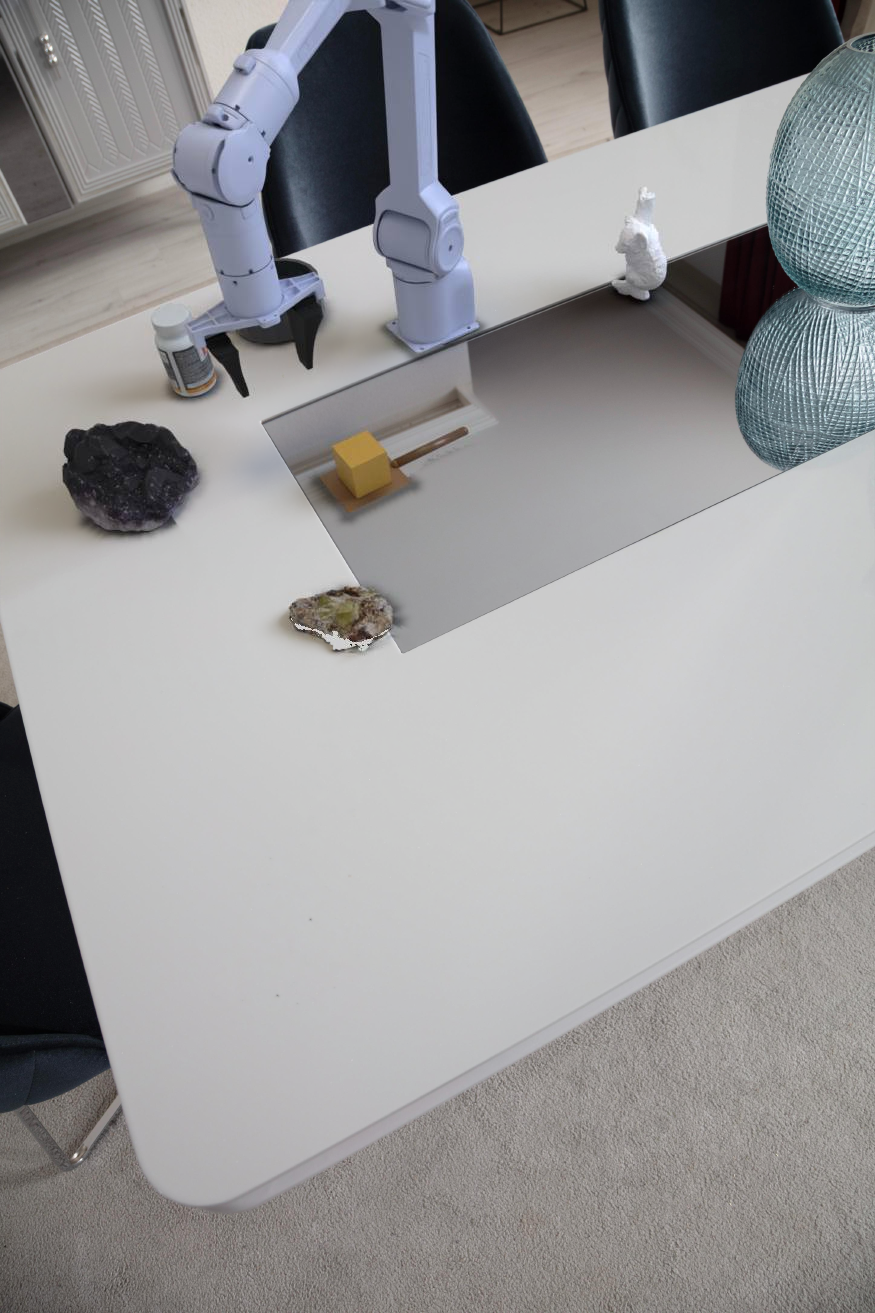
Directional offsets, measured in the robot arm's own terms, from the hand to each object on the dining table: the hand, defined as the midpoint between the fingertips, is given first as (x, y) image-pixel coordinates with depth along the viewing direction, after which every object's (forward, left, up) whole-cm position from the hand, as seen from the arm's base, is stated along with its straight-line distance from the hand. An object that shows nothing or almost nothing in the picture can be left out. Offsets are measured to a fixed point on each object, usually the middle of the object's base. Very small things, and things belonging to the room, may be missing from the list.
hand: (275, 378), depth 100 cm
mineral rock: (+8, +26, -10) cm, 29 cm away
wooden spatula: (-9, +10, -10) cm, 17 cm away
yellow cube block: (-4, +10, -9) cm, 14 cm away
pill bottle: (+5, -19, -10) cm, 22 cm away
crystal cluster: (+18, -4, -10) cm, 21 cm away
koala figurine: (-50, 0, -10) cm, 51 cm away
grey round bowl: (-10, -25, -10) cm, 29 cm away
